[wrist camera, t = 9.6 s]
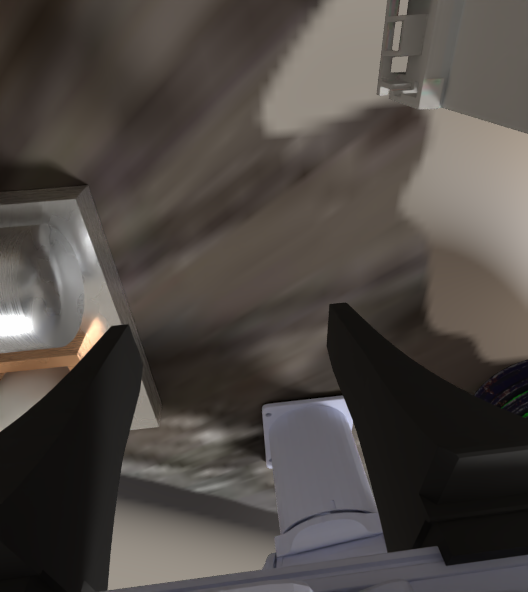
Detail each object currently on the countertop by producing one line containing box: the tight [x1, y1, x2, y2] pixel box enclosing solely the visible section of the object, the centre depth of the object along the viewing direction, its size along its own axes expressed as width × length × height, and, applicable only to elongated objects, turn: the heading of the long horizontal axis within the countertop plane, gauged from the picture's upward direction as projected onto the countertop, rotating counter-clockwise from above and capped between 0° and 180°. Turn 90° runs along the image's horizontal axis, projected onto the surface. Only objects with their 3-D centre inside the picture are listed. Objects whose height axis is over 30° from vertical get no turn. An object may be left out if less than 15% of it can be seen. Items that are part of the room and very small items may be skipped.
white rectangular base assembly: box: [0, 185, 162, 430], centre depth 21 cm, size 18×12×8 cm, turn 3°
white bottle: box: [0, 366, 70, 432], centre depth 21 cm, size 4×4×7 cm
